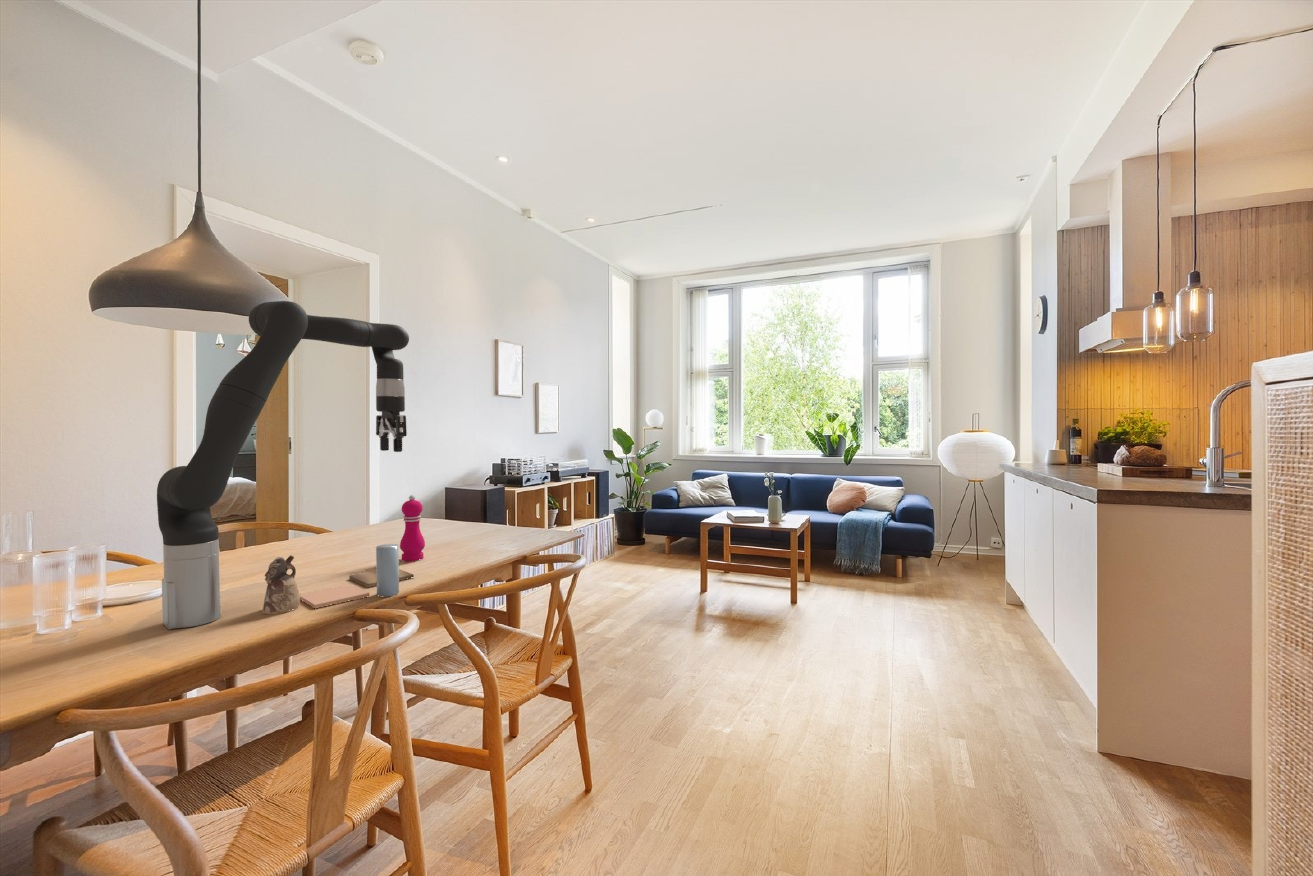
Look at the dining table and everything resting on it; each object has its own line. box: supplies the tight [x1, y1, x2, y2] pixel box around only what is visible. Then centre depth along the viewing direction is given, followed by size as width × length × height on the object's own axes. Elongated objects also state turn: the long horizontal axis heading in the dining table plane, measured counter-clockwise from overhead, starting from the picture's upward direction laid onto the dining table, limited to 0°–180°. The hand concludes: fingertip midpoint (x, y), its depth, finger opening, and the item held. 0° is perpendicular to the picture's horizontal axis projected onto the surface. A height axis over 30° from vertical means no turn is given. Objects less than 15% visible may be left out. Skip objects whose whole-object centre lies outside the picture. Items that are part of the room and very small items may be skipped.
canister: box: [375, 543, 400, 598], centre depth 141 cm, size 5×5×12 cm
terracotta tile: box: [299, 583, 371, 610], centre depth 139 cm, size 12×12×1 cm
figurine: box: [262, 554, 301, 615], centre depth 130 cm, size 7×7×12 cm
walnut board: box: [349, 568, 415, 588], centre depth 155 cm, size 12×12×1 cm
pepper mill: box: [399, 494, 426, 562], centre depth 177 cm, size 7×7×20 cm
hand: (391, 451), depth 165 cm, fingers open, 8 cm apart
